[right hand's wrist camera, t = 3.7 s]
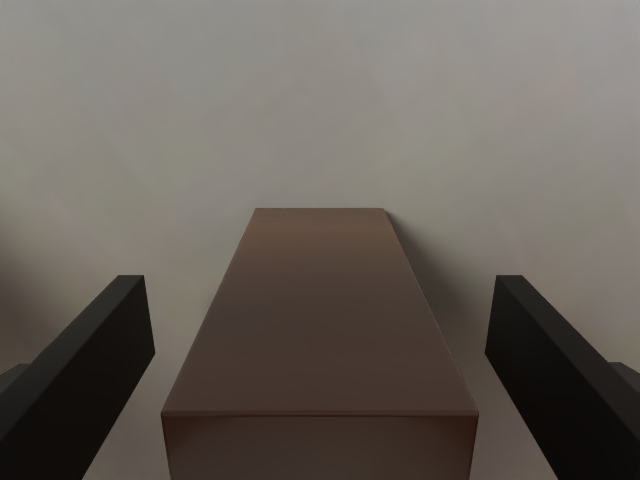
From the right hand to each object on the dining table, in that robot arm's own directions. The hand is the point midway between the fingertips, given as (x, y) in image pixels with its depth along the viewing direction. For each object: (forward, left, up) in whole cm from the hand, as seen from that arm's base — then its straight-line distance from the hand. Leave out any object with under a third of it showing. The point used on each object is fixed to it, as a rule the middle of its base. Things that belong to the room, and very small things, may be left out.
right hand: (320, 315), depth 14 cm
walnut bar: (0, -9, -1) cm, 9 cm away
